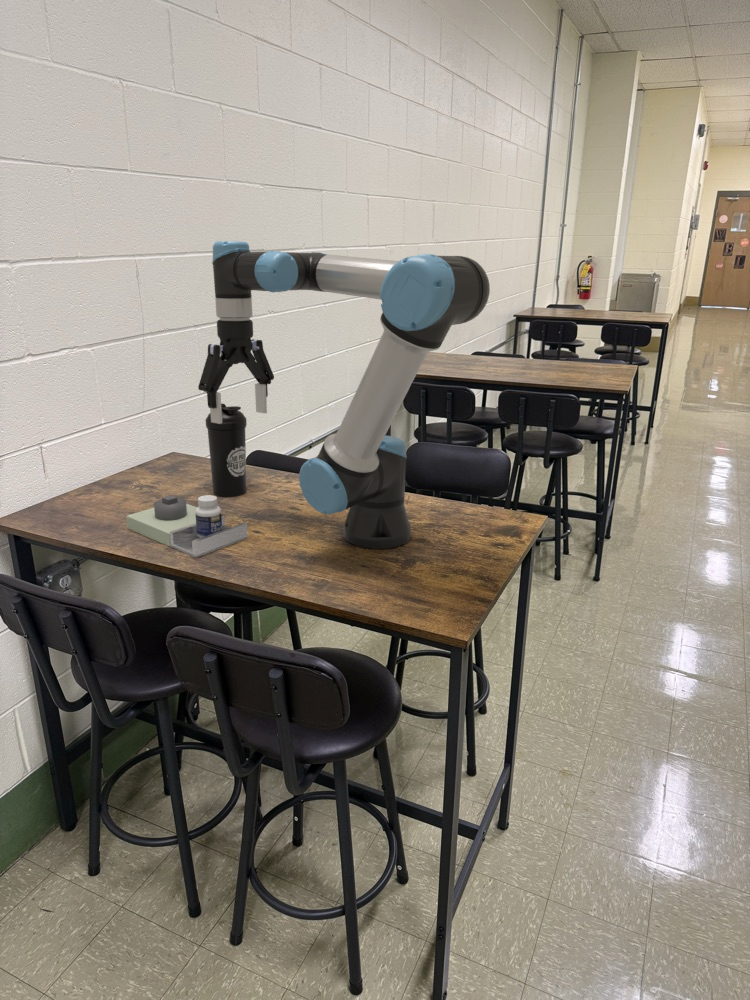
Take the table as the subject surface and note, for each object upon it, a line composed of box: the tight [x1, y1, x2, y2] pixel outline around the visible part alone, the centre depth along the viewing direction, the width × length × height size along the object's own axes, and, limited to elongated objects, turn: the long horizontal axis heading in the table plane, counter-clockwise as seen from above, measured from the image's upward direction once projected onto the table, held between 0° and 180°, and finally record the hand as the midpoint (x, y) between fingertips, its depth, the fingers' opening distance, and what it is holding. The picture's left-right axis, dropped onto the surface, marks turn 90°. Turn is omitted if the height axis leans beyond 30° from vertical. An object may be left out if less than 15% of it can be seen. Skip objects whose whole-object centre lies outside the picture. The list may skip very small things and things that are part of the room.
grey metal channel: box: [170, 514, 249, 559], centre depth 149 cm, size 8×14×4 cm, turn 142°
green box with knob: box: [125, 494, 198, 548], centre depth 155 cm, size 16×14×7 cm
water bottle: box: [205, 403, 247, 498], centre depth 177 cm, size 10×10×23 cm
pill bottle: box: [195, 494, 222, 539], centre depth 148 cm, size 5×5×10 cm
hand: (239, 417), depth 153 cm, fingers open, 13 cm apart
